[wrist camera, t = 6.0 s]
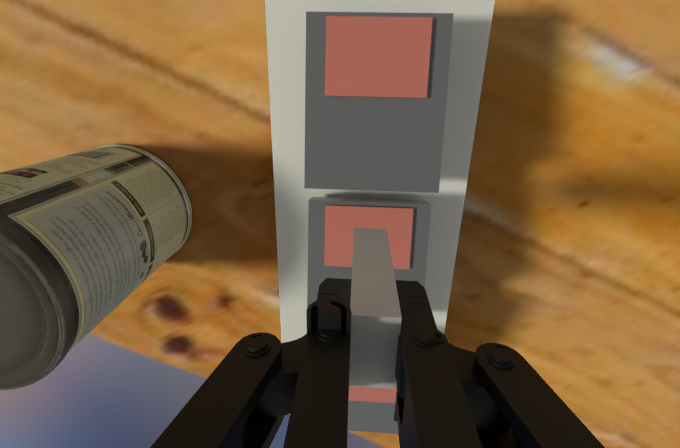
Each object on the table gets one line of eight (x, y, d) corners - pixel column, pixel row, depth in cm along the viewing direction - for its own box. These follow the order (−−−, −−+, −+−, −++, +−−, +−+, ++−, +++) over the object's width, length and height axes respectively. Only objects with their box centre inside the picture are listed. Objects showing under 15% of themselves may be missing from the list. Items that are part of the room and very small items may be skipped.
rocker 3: (309, 341, 24) (306, 365, 23) (415, 346, 24) (418, 371, 23) (314, 407, 29) (311, 430, 28) (401, 412, 29) (403, 436, 27)
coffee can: (122, 280, 32) (-42, 415, 19) (42, 177, 29) (-219, 255, 16) (218, 235, 30) (108, 354, 17) (143, 119, 27) (-62, 155, 14)
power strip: (280, -82, 22) (251, -141, 16) (484, -81, 22) (531, -143, 16) (295, 369, 35) (281, 428, 29) (423, 377, 34) (436, 438, 28)
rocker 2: (312, 196, 22) (308, 200, 21) (426, 200, 22) (431, 204, 20) (310, 324, 24) (306, 337, 22) (416, 329, 24) (420, 343, 22)
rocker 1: (310, 23, 19) (305, 9, 17) (445, 25, 19) (454, 11, 17) (308, 185, 21) (303, 188, 19) (432, 189, 20) (439, 193, 19)
